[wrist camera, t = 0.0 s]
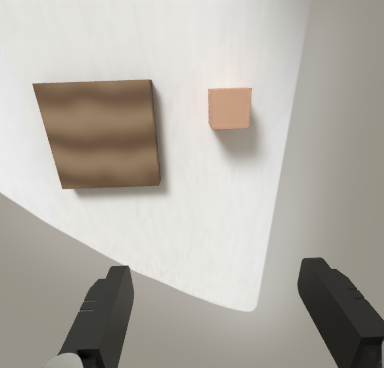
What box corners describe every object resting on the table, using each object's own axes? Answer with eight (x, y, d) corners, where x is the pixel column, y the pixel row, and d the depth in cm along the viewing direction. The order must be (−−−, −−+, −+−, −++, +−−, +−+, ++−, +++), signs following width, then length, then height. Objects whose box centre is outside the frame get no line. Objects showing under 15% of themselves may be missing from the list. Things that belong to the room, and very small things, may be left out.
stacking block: (208, 88, 35) (212, 89, 29) (241, 87, 35) (251, 88, 29) (208, 122, 37) (212, 129, 31) (239, 121, 37) (249, 128, 31)
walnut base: (42, 83, 34) (32, 83, 31) (151, 79, 34) (148, 79, 31) (69, 183, 40) (62, 189, 38) (160, 179, 40) (159, 185, 38)
